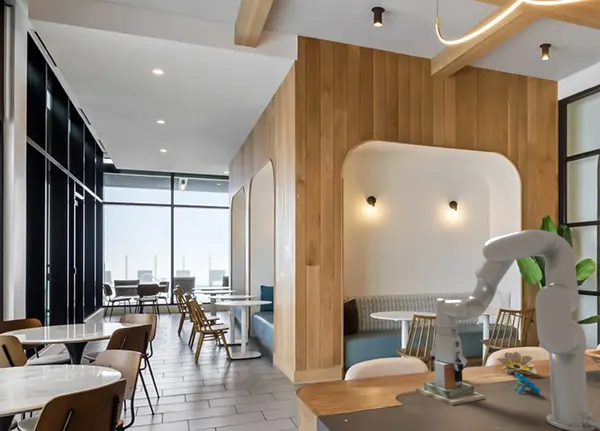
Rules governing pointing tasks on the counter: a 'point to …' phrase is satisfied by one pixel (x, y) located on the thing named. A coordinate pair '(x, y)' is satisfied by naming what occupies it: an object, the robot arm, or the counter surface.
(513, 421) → the counter surface
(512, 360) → the decorative flower
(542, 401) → the counter surface
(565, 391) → the robot arm
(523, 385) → the gear
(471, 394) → the jig
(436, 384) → the small box
